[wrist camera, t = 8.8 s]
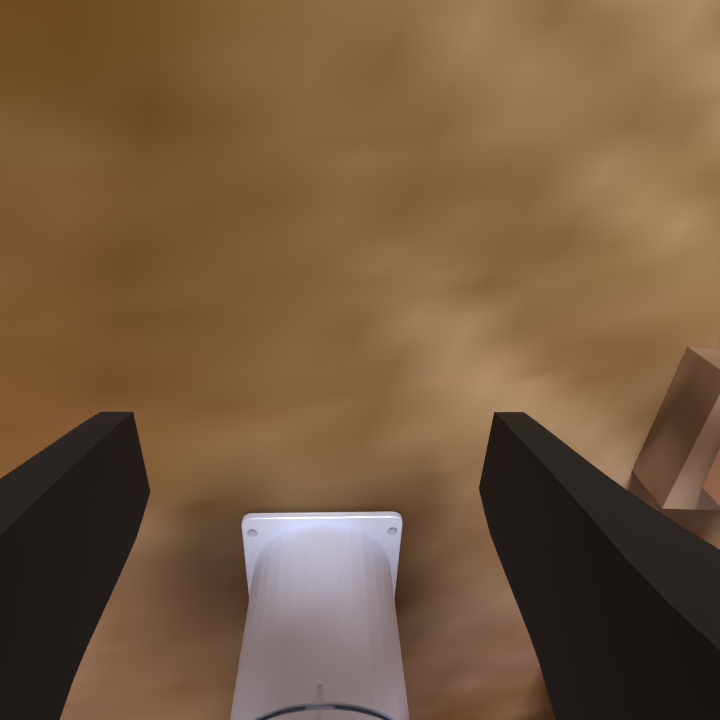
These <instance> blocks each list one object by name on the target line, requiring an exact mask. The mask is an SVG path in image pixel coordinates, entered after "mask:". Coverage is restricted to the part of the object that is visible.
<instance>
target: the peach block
mask: <svg viewBox="0 0 720 720" xmlns="http://www.w3.org/2000/svg"><path fill="white" fill-rule="evenodd" d="M702 488H703V489H704V490H705V491H706V492H707V493H708V494H709V495H710V496H711V497H712V498H713V499H714V500H715V502H716V503H717V504H718V505H719V506H720V447H719V450H718V452H717V454H716V457H715V459H714V461H713V464H712V466H711V468H710V471H709V473H708V475H707V477H706V480H705V482H704V484H703V487H702Z"/></svg>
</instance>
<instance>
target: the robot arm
mask: <svg viewBox="0 0 720 720" xmlns="http://www.w3.org/2000/svg"><path fill="white" fill-rule="evenodd" d="M479 490H480V495H481V499H482V503H483V507H484V512H485V516H486V520H487V523H488V527H489V531H490V534H491V537H492V540H493V542H494V545H495V548H496V550H497V553H498V556H499V558H500V561H501V563H502V566H503V569H504V571H505V574H506V576H507V579H508V581H509V584H510V587H511V589H512V592H513V594H514V597H515V599H516V602H517V604H518V607H519V610H520V612H521V615H522V617H523V620H524V622H525V625H526V627H527V630H528V632H529V635H530V638H531V640H532V643H533V646H534V649H535V652H536V655H537V658H538V660H539V663H540V667H541V670H542V673H543V677H544V680H545V684H546V687H547V691H548V694H549V698H550V701H551V705H552V708H553V712H554V715H555V719H556V720H720V550H719V549H718V548H716V547H714V546H713V545H711V544H709V543H708V542H706V541H704V540H703V539H701V538H699V537H698V536H696V535H694V534H693V533H691V532H689V531H688V530H686V529H684V528H683V527H681V526H679V525H678V524H676V523H675V522H673V521H672V520H670V519H668V518H667V517H665V516H664V515H662V514H661V513H659V512H658V511H656V510H655V509H653V508H652V507H650V506H649V505H648V504H646V503H645V502H643V501H642V500H640V499H639V498H637V497H636V496H634V495H633V494H631V493H630V492H629V491H627V490H626V489H624V488H623V487H622V486H620V485H619V484H617V483H616V482H615V481H613V480H612V479H611V478H609V477H608V476H607V475H605V474H604V473H603V472H601V471H600V470H599V469H597V468H596V467H595V466H593V465H592V464H591V463H589V462H588V461H587V460H585V459H584V458H583V457H581V456H580V455H579V454H578V453H576V452H575V451H574V450H572V449H571V448H570V447H569V446H567V445H566V444H565V443H564V442H562V441H561V440H560V439H558V438H557V437H556V436H555V435H553V434H552V433H551V432H549V431H548V430H547V429H546V428H544V427H543V426H542V425H540V424H539V423H538V422H536V421H535V420H534V419H532V418H531V417H530V416H528V415H527V414H525V413H524V412H494V416H493V421H492V426H491V431H490V436H489V441H488V446H487V451H486V456H485V461H484V466H483V471H482V476H481V481H480V486H479ZM149 494H150V488H149V483H148V479H147V474H146V469H145V465H144V460H143V456H142V451H141V446H140V442H139V437H138V432H137V428H136V423H135V419H134V414H133V412H100V413H98V414H97V415H95V416H93V417H91V418H90V419H88V420H87V421H85V422H84V423H82V424H81V425H79V426H78V427H76V428H75V429H73V430H72V431H70V432H69V433H67V434H66V435H64V436H63V437H61V438H60V439H58V440H57V441H56V442H54V443H53V444H51V445H50V446H48V447H47V448H45V449H44V450H42V451H41V452H39V453H38V454H36V455H35V456H33V457H32V458H30V459H29V460H28V461H26V462H25V463H23V464H22V465H20V466H19V467H17V468H16V469H14V470H13V471H11V472H10V473H8V474H7V475H5V476H4V477H2V478H1V479H0V720H60V717H61V714H62V711H63V708H64V705H65V702H66V699H67V696H68V694H69V691H70V688H71V685H72V682H73V679H74V677H75V675H76V672H77V670H78V667H79V665H80V662H81V660H82V657H83V655H84V653H85V650H86V648H87V646H88V644H89V642H90V639H91V637H92V635H93V633H94V631H95V628H96V626H97V624H98V622H99V620H100V617H101V615H102V613H103V611H104V609H105V607H106V604H107V602H108V600H109V598H110V596H111V593H112V591H113V589H114V587H115V585H116V582H117V580H118V578H119V576H120V574H121V571H122V569H123V567H124V565H125V562H126V560H127V558H128V556H129V553H130V551H131V549H132V547H133V544H134V542H135V540H136V537H137V534H138V531H139V528H140V524H141V521H142V518H143V515H144V511H145V508H146V504H147V501H148V497H149ZM402 524H403V523H402V517H401V515H400V514H399V513H397V512H312V513H250V514H247V515H245V516H244V517H243V520H242V535H243V544H244V554H245V563H246V573H247V582H248V592H249V603H248V610H247V616H246V622H245V628H244V635H243V641H242V647H241V654H240V660H239V666H238V672H237V679H236V685H235V691H234V697H233V704H232V710H231V716H230V720H409V712H408V704H407V696H406V688H405V680H404V672H403V664H402V656H401V648H400V640H399V632H398V625H397V617H396V609H395V601H394V598H395V588H396V579H397V570H398V561H399V551H400V542H401V533H402ZM392 527H393V529H389V528H392ZM251 529H253V530H255V531H252V530H251Z"/></svg>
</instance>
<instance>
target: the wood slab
mask: <svg viewBox="0 0 720 720" xmlns="http://www.w3.org/2000/svg"><path fill="white" fill-rule="evenodd" d="M719 447H720V349H718V348H701V347H687V349H686V352H685V354H684V356H683V358H682V361H681V363H680V365H679V367H678V370H677V372H676V374H675V376H674V378H673V381H672V383H671V385H670V387H669V390H668V392H667V394H666V396H665V398H664V401H663V403H662V405H661V407H660V410H659V412H658V414H657V416H656V419H655V421H654V423H653V425H652V427H651V430H650V432H649V434H648V436H647V439H646V441H645V443H644V445H643V448H642V450H641V452H640V454H639V456H638V459H637V461H636V463H635V465H634V468H633V470H632V471H633V473H634V474H635V475H636V476H637V478H638V479H639V480H640V481H641V483H642V484H643V485H644V487H645V488H646V489H647V490H648V492H649V493H650V494H651V495H652V497H653V498H654V499H655V500H656V502H657V503H658V504H659V505H660V507H661V508H662V509H693V510H720V506H719V505H718V504H717V503H716V502H715V500H714V499H713V498H712V497H711V496H710V495H709V494H708V493H707V492H706V491H705V490H704V489H703V488H702V487H703V484H704V482H705V480H706V477H707V475H708V473H709V471H710V468H711V466H712V464H713V461H714V459H715V457H716V454H717V452H718V450H719Z"/></svg>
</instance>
